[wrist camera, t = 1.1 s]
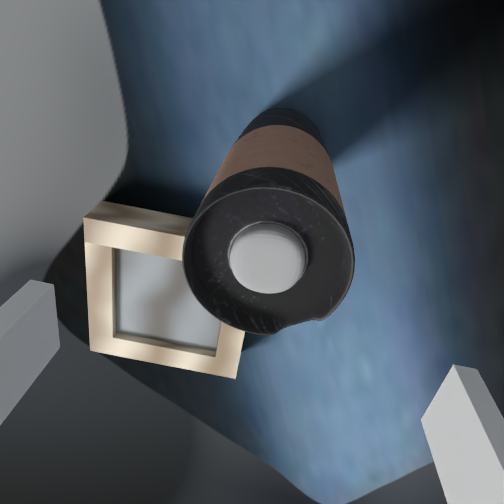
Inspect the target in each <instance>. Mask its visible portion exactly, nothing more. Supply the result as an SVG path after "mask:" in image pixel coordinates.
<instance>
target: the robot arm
mask: <svg viewBox="0 0 504 504" xmlns="http://www.w3.org/2000/svg"><path fill="white" fill-rule="evenodd" d="M59 348H60V344H59V333H58V323H57V313H56V303H55V293H54V284H49V283H44V282H39V281H34V280H30V281H29V282H28V283H27V284H25V285H24V286H23V287H22V288H21V289H20V290H19V291H18V292H17V293H15V294H14V296H12V297H11V298H10V299H9V300H8V301H7V302H6V303H4V304H3V305H2V306H1V307H0V425H1V423H2V422H3V421H4V420H5V418H6V417H7V416H8V414H9V413H10V412H11V410H12V409H13V408H14V406H15V405H16V404H17V403H18V401H19V400H20V399H21V397H22V396H23V395H24V394H25V392H26V391H27V389H28V388H29V387H30V386H31V384H32V383H33V382H34V380H35V379H36V377H37V376H38V375H39V374H40V373H41V371H42V370H43V369H44V367H45V366H46V365H47V363H48V362H49V361H50V359H51V358H52V357H53V356H54V354H55V353H56V352H57V350H58V349H59ZM421 422H422V425H423V428H424V431H425V434H426V437H427V441H428V444H429V447H430V450H431V453H432V456H433V459H434V462H435V465H436V469H437V471H438V475H439V478H440V481H441V484H442V487H443V490H444V493H445V496H446V500H447V503H448V504H504V419H503V417H502V415H501V413H500V411H499V409H498V407H497V406H496V404H495V402H494V400H493V398H492V396H491V394H490V393H489V391H488V389H487V387H486V385H485V383H484V381H483V380H482V378H481V376H480V374H479V372H478V370H477V369H473V368H468V367H463V366H458V365H453V366H452V368H451V370H450V371H449V373H448V375H447V376H446V378H445V380H444V382H443V383H442V385H441V387H440V388H439V390H438V392H437V393H436V395H435V397H434V399H433V400H432V402H431V404H430V405H429V407H428V409H427V411H426V412H425V414H424V416H423V417H422V419H421Z"/></svg>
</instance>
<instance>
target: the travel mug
mask: <svg viewBox="0 0 504 504" xmlns="http://www.w3.org/2000/svg"><path fill="white" fill-rule="evenodd" d="M182 265H183V270H184V275H185V278H186V281H187V283H188V286H189V288H190V290H191V292H192V293H193V295H194V296H195V298H196V299H197V301H198V302H199V303H200V304H201V305H202V306H203V307H204V309H206V310H207V311H208V312H209V313H210V314H211V315H213V316H214V317H215V318H217V319H218V320H220V321H221V322H223V323H225V324H227V325H229V326H231V327H234V328H236V329H238V330H242V331H245V332H249V333H253V334H259V335H273V334H275V333H277V332H278V331H279V330H281V329H283V328H286V327H289V326H292V325H295V324H299V323H302V322H306V321H310V320H317V321H322V320H324V319H325V318H327V317H328V316H329V315H330V314H331V313H332V312H333V311H334V310H335V309H336V308H337V307H338V306H339V305H340V303H341V302H342V300H343V299H344V297H345V296H346V294H347V292H348V290H349V288H350V285H351V282H352V279H353V274H354V266H355V256H354V248H353V242H352V239H351V235H350V231H349V227H348V223H347V220H346V216H345V212H344V208H343V204H342V200H341V197H340V193H339V189H338V185H337V181H336V178H335V174H334V170H333V166H332V163H331V160H330V157H329V155H328V153H327V150H326V148H325V146H324V143H323V141H322V139H321V136H320V134H319V132H318V130H317V129H316V127H315V125H314V124H313V123H312V122H311V121H310V120H309V119H308V118H307V117H306V116H304V115H303V114H301V113H299V112H297V111H294V110H290V109H273V110H269V111H266V112H264V113H262V114H260V115H259V116H257V117H256V118H255V119H254V120H253V121H252V122H250V124H249V125H248V126H247V127H246V129H245V130H244V131H243V133H242V134H241V135H240V137H239V138H238V139H237V141H236V142H235V144H234V145H233V146H232V148H231V149H230V151H229V152H228V154H227V156H226V158H225V160H224V161H223V163H222V165H221V167H220V169H219V171H218V173H217V174H216V176H215V178H214V180H213V182H212V184H211V186H210V188H209V189H208V191H207V193H206V195H205V197H204V199H203V201H202V203H201V204H200V206H199V208H198V210H197V212H196V214H195V216H194V217H193V219H192V221H191V223H190V225H189V228H188V230H187V232H186V235H185V239H184V243H183V250H182Z"/></svg>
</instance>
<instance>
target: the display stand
mask: <svg viewBox="0 0 504 504" xmlns="http://www.w3.org/2000/svg"><path fill="white" fill-rule="evenodd" d="M83 218H84V238H85V258H86V277H87V297H88V316H89V336H90V350H91V351H95V352H100V353H105V354H110V355H116V356H121V357H126V358H131V359H136V360H141V361H147V362H152V363H157V364H162V365H167V366H172V367H178V368H183V369H188V370H193V371H198V372H203V373H209V374H214V375H219V376H224V377H229V378H236V373H237V369H238V364H239V359H240V354H241V349H242V344H243V339H244V334H245V331H242V330H238V329H236V328H234V327H231V326H229V325H227V324H225V323H223V322H221V321H220V320H218V319H217V318H215V317H214V316H213V315H211V314H210V313H209V312H208V311H207V310H206V309H204V307H203V306H202V305H201V304H200V303H199V302H198V301H197V299H196V298H195V296H194V295H193V293H192V292H191V290H190V288H189V286H188V283H187V281H186V278H185V275H184V270H183V265H182V250H183V243H184V239H185V235H186V232H187V230H188V228H189V225H190V223H191V221H192V219H193V218H189V217H184V216H179V215H174V214H168V213H163V212H158V211H153V210H148V209H142V208H137V207H132V206H127V205H122V204H116V203H111V202H106V201H102V202H101V203H100V204H99V205H97V206H96V207H95V208H94V209H93V210H91V211H90V212H89V213H88V214H87V215H86V216H84V217H83Z"/></svg>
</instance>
